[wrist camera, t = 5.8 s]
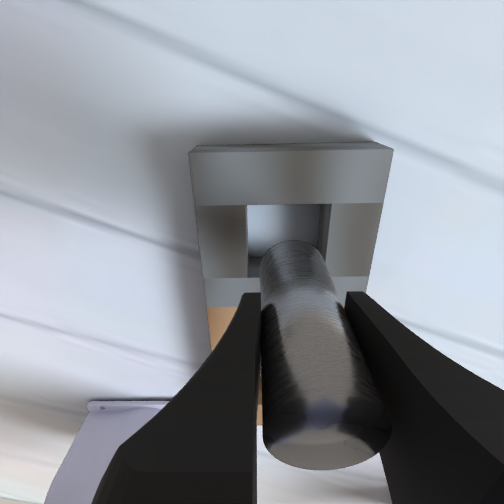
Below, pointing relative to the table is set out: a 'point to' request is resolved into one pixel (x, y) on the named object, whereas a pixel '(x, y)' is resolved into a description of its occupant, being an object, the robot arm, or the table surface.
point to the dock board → (285, 192)
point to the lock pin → (313, 368)
